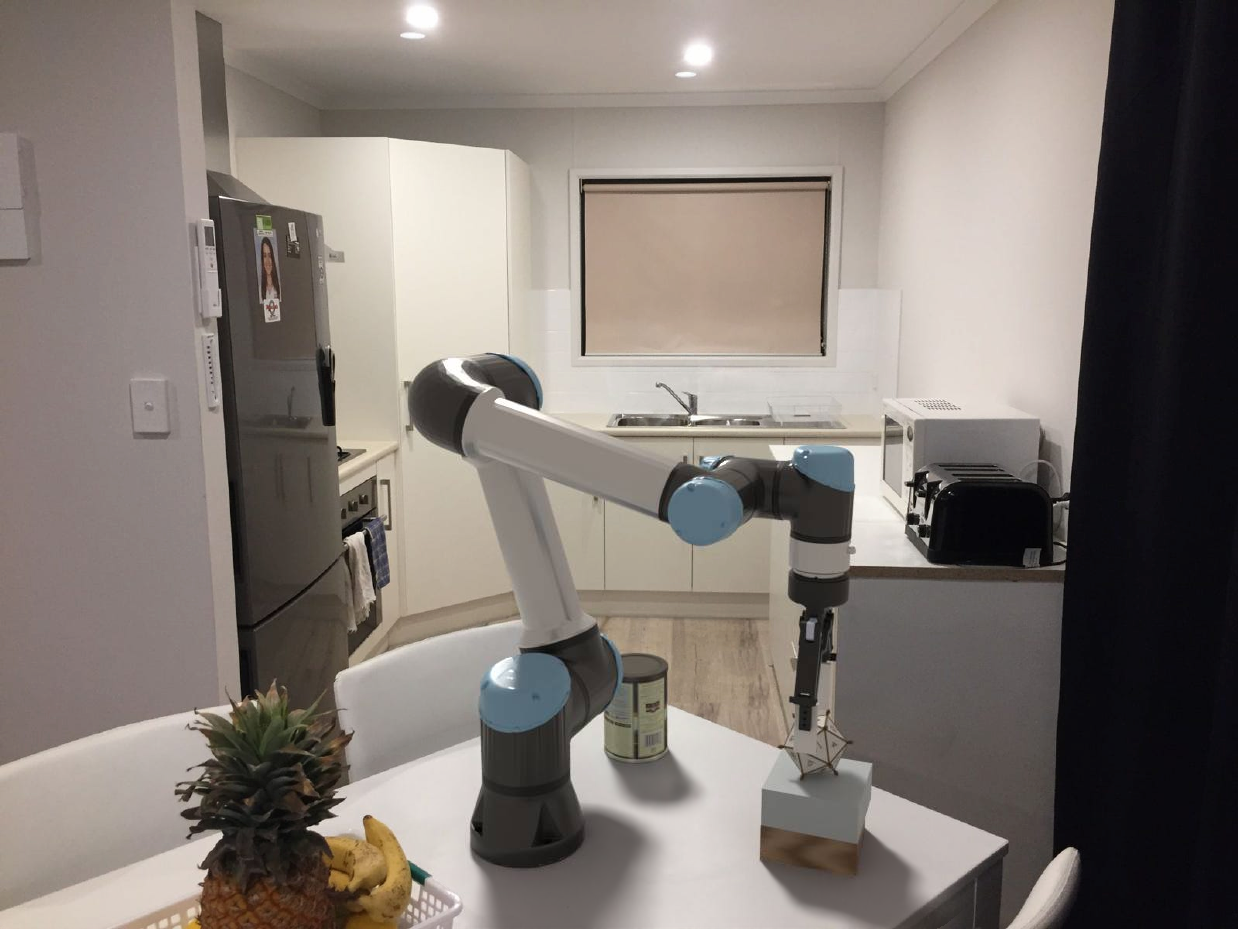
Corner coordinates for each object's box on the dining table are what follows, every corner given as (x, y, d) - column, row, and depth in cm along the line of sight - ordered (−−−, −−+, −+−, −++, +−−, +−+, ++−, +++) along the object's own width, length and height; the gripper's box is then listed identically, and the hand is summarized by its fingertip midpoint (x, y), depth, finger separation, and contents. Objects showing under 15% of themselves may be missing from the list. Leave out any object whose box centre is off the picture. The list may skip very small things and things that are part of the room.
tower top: (761, 825, 126) (761, 788, 125) (781, 782, 137) (782, 748, 136) (857, 844, 122) (858, 806, 121) (870, 798, 133) (872, 763, 132)
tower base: (759, 862, 127) (760, 825, 126) (775, 815, 138) (776, 782, 137) (856, 879, 123) (857, 842, 122) (864, 830, 134) (866, 795, 134)
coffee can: (624, 729, 165) (624, 648, 163) (679, 744, 160) (680, 660, 157) (590, 753, 156) (589, 668, 154) (646, 770, 151) (647, 681, 149)
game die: (825, 806, 128) (850, 769, 121) (764, 776, 130) (784, 739, 123) (843, 749, 135) (867, 712, 127) (784, 722, 136) (804, 683, 129)
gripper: (839, 602, 112) (830, 778, 116) (858, 548, 135) (850, 696, 139) (772, 595, 114) (766, 768, 118) (802, 543, 138) (796, 689, 141)
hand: (811, 729), depth 128 cm, fingers open, 13 cm apart
